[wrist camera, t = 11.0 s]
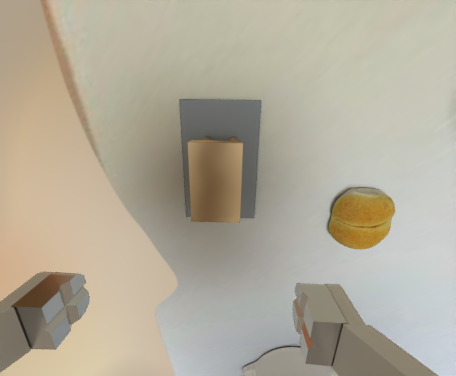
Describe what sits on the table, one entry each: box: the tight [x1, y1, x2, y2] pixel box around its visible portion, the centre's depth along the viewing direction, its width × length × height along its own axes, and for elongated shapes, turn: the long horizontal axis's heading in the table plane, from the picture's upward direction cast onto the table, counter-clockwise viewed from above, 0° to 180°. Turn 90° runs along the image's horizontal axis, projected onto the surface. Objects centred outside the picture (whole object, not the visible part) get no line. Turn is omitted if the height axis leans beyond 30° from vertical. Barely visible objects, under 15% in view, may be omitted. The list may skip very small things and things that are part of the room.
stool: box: [188, 136, 243, 223], centre depth 24 cm, size 5×8×8 cm, turn 179°
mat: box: [179, 99, 261, 218], centre depth 28 cm, size 16×10×1 cm, turn 179°
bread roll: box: [329, 188, 395, 249], centre depth 29 cm, size 8×9×4 cm
